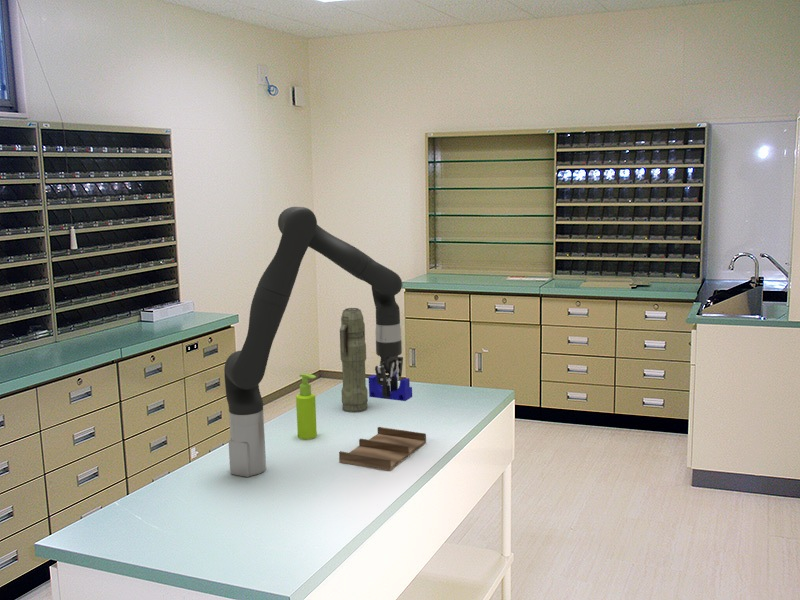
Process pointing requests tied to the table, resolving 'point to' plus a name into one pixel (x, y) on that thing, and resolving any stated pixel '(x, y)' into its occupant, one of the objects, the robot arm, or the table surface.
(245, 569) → the table surface
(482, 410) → the table surface
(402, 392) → the blue cradle stand
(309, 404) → the soap dispenser
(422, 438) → the rack
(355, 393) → the thermos
